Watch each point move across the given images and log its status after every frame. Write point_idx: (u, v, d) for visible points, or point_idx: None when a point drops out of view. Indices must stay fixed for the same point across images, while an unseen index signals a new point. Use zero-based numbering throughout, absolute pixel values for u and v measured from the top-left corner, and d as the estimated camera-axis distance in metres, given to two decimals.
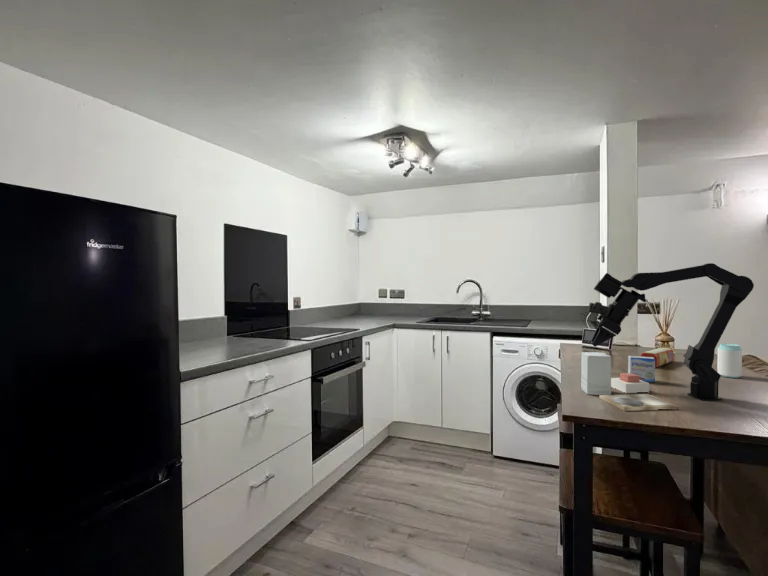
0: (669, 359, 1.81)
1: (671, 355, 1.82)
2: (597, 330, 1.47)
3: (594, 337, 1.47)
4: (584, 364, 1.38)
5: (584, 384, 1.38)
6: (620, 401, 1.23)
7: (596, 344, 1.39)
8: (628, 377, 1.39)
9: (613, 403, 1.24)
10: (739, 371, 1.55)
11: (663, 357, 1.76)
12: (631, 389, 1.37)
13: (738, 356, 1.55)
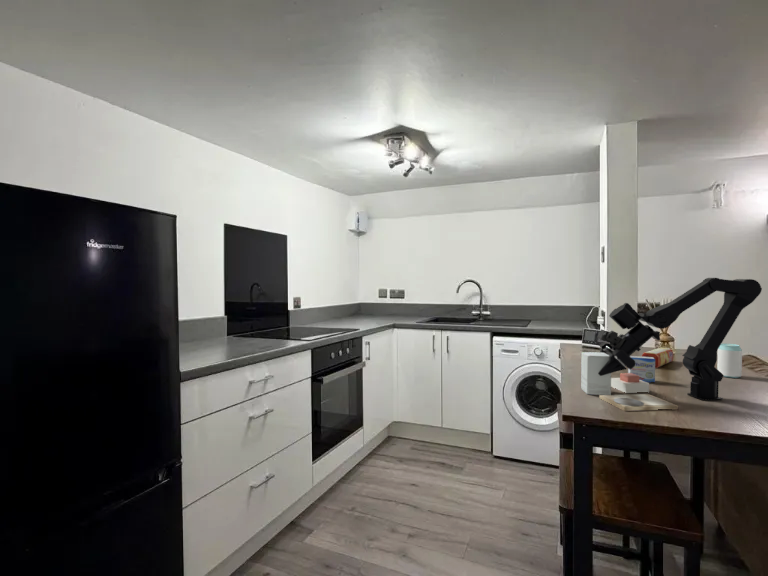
0: (669, 359, 1.81)
1: (671, 355, 1.82)
2: None
3: None
4: (584, 364, 1.38)
5: (584, 383, 1.38)
6: (620, 401, 1.23)
7: (602, 373, 1.33)
8: (628, 377, 1.39)
9: (613, 403, 1.24)
10: (739, 371, 1.55)
11: (664, 357, 1.76)
12: (631, 389, 1.37)
13: (738, 356, 1.55)
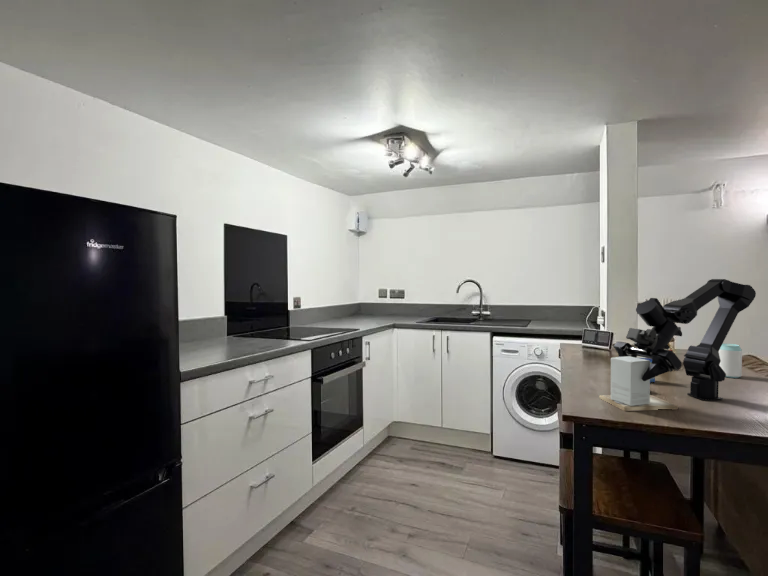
0: None
1: None
2: None
3: None
4: (621, 371, 1.21)
5: (621, 394, 1.21)
6: None
7: (646, 378, 1.18)
8: None
9: (613, 403, 1.24)
10: (739, 371, 1.55)
11: None
12: None
13: (738, 356, 1.55)
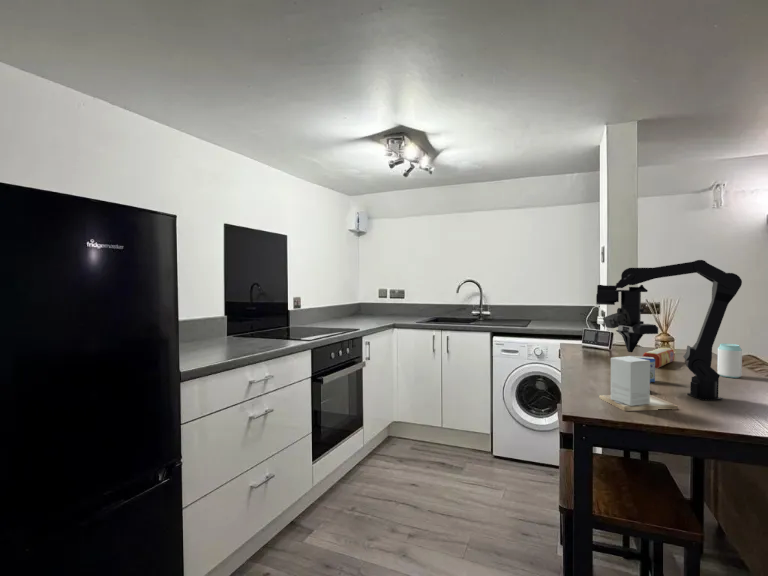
0: (670, 359, 1.81)
1: (672, 355, 1.82)
2: (626, 339, 1.40)
3: None
4: (621, 371, 1.21)
5: (621, 394, 1.21)
6: None
7: (632, 349, 1.40)
8: None
9: (613, 403, 1.24)
10: (739, 371, 1.55)
11: (665, 357, 1.76)
12: None
13: (738, 356, 1.55)
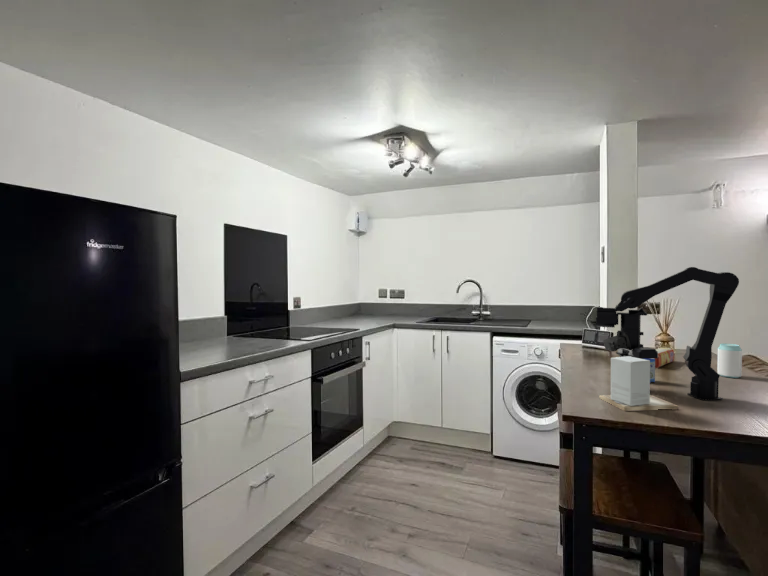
0: (670, 359, 1.81)
1: (672, 355, 1.82)
2: None
3: None
4: (621, 371, 1.21)
5: (621, 394, 1.21)
6: None
7: None
8: None
9: (613, 403, 1.24)
10: (739, 371, 1.55)
11: (665, 357, 1.76)
12: None
13: (738, 356, 1.55)
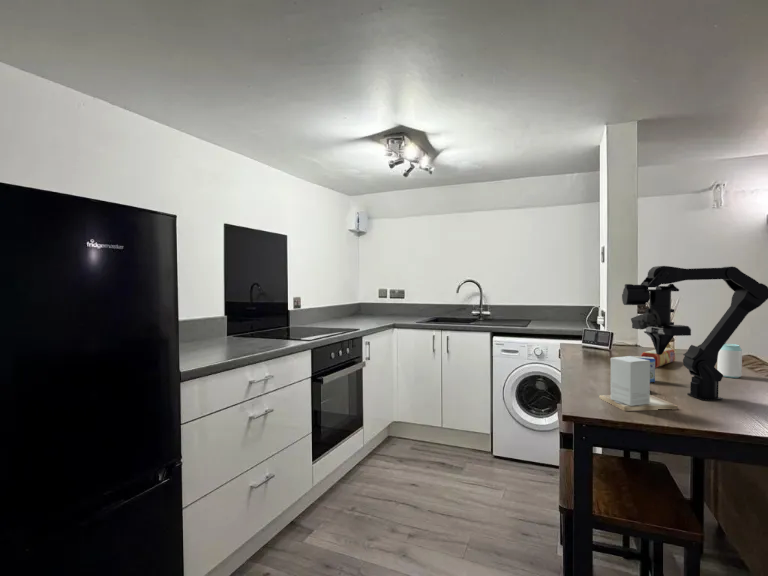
0: (670, 359, 1.81)
1: (672, 355, 1.82)
2: (655, 341, 1.34)
3: None
4: (621, 371, 1.21)
5: (621, 394, 1.21)
6: None
7: (661, 352, 1.33)
8: None
9: (613, 403, 1.24)
10: (739, 371, 1.55)
11: (664, 357, 1.76)
12: None
13: (738, 356, 1.55)
